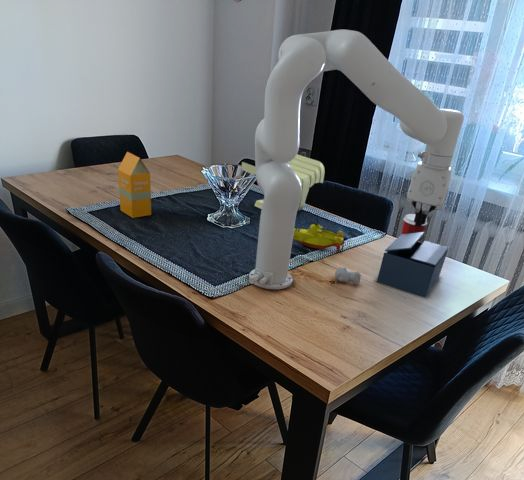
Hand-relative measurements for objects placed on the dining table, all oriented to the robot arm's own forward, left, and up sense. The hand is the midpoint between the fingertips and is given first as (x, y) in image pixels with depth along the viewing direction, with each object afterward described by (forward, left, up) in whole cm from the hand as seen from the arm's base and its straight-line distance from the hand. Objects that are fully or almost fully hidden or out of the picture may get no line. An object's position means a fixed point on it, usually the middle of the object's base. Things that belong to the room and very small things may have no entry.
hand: (418, 225), depth 144 cm
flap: (0, +2, -6) cm, 6 cm away
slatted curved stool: (+29, +59, -17) cm, 68 cm away
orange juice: (-14, +95, -17) cm, 98 cm away
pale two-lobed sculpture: (-15, +13, -17) cm, 27 cm away
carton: (0, -2, -17) cm, 17 cm away
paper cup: (+17, +4, -17) cm, 24 cm away
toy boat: (+3, +31, -17) cm, 36 cm away
